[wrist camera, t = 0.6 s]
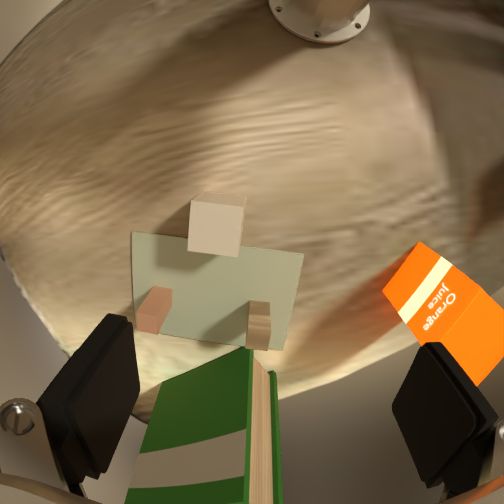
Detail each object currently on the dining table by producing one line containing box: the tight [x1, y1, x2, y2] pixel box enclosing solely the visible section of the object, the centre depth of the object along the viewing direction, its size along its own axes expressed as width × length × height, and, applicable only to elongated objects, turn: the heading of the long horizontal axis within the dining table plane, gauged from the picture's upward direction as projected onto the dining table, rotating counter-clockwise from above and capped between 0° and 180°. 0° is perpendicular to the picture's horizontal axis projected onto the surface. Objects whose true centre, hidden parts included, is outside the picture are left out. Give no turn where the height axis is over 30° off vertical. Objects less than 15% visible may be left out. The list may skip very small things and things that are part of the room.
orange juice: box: [382, 241, 504, 386], centre depth 29 cm, size 8×9×20 cm
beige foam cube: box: [187, 191, 247, 257], centre depth 33 cm, size 5×5×7 cm
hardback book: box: [124, 346, 283, 504], centre depth 33 cm, size 18×7×24 cm, turn 123°
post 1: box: [136, 286, 172, 335], centre depth 36 cm, size 3×3×7 cm
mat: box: [132, 231, 304, 351], centre depth 39 cm, size 15×22×1 cm
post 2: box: [245, 300, 271, 351], centre depth 36 cm, size 3×3×7 cm
